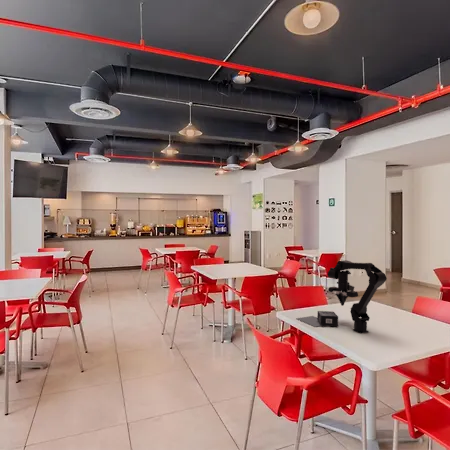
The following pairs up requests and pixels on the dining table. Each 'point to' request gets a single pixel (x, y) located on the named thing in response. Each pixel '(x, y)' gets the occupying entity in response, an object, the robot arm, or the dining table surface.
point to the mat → (310, 321)
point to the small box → (327, 318)
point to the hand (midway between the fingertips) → (342, 305)
